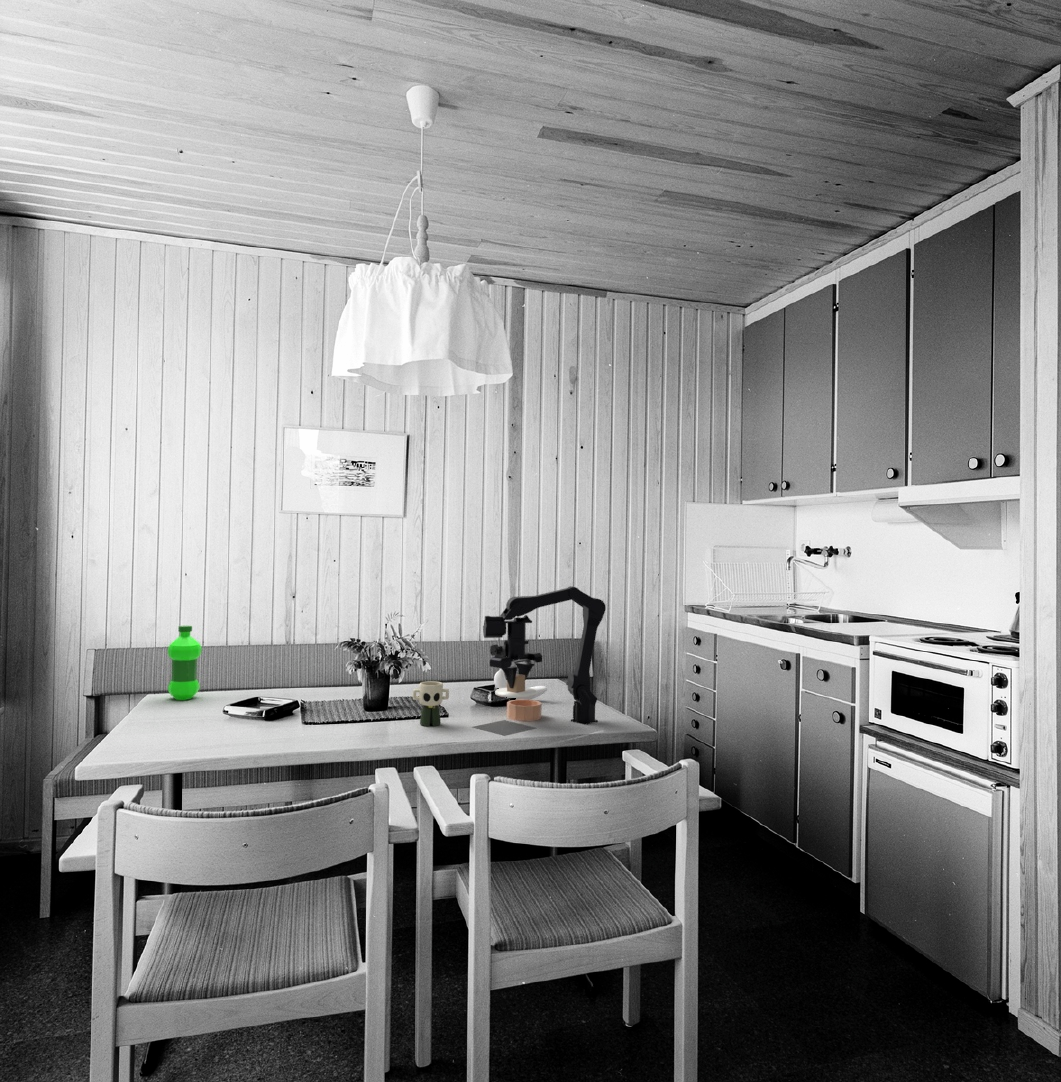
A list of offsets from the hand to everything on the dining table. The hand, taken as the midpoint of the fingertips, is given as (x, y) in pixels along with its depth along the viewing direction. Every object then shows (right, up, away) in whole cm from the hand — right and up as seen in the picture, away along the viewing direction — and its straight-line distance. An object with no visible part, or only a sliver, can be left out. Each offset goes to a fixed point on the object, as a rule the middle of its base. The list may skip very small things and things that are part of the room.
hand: (516, 687), depth 242 cm
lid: (0, -2, 0) cm, 2 cm away
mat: (-3, -11, -7) cm, 14 cm away
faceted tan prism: (+2, -11, +8) cm, 14 cm away
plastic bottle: (-116, -9, +26) cm, 119 cm away
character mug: (-26, -11, -5) cm, 29 cm away
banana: (+1, -12, +35) cm, 37 cm away
